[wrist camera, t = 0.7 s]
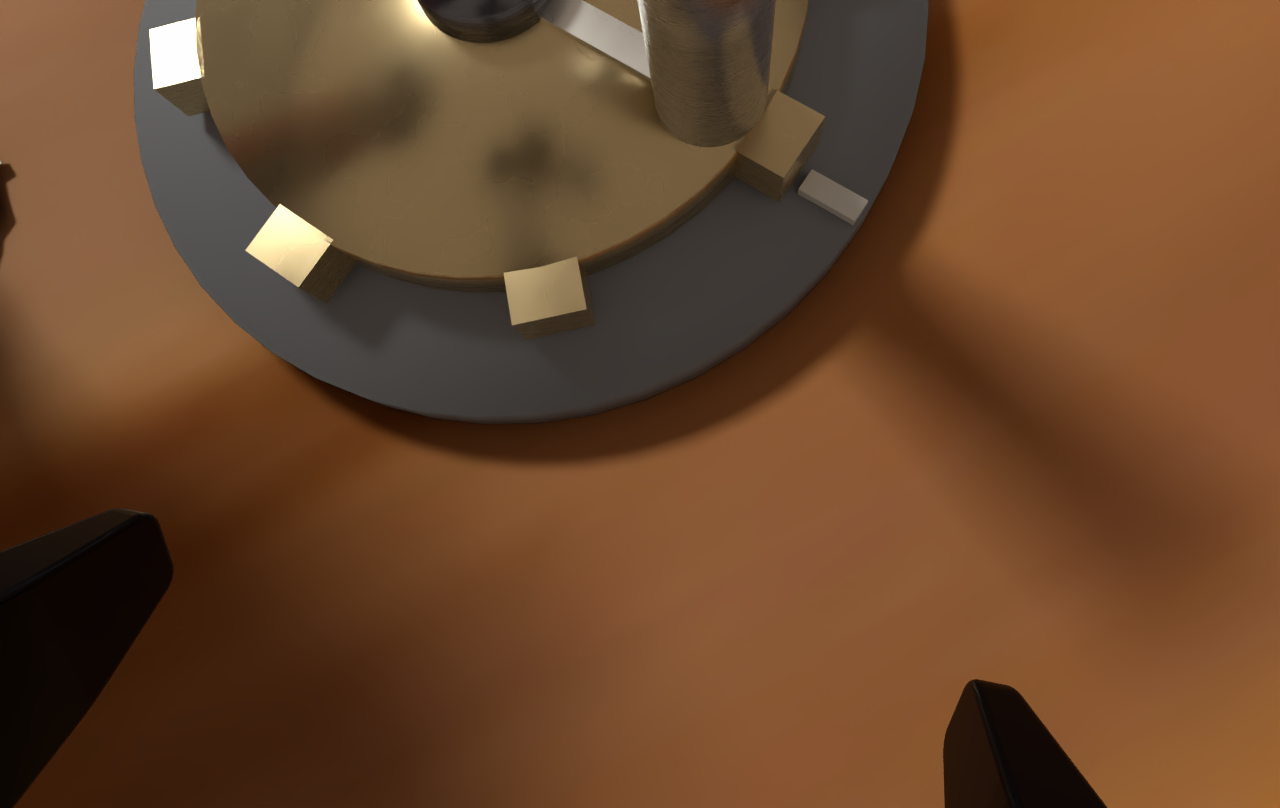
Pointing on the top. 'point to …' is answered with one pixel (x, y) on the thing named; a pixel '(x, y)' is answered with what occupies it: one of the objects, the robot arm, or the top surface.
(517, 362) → the base plate
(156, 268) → the top surface
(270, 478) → the top surface
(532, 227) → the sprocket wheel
